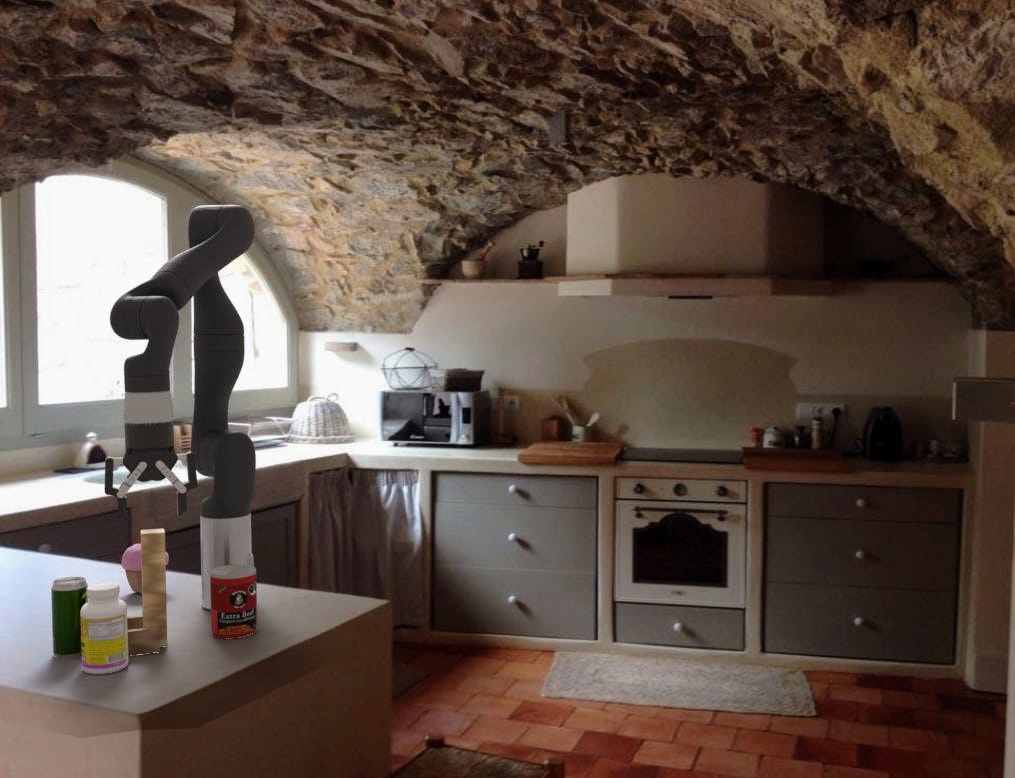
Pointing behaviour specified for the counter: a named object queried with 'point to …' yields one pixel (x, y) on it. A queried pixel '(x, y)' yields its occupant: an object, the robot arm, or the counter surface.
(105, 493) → the robot arm
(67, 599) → the beer can
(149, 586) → the bar
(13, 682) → the counter surface
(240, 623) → the canned food
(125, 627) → the supplement bottle
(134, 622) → the channel
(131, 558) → the cupcake
